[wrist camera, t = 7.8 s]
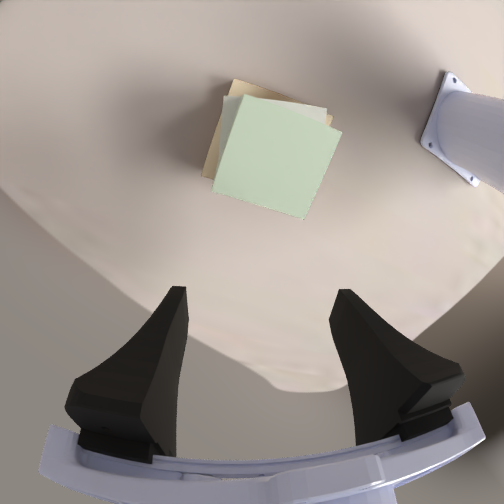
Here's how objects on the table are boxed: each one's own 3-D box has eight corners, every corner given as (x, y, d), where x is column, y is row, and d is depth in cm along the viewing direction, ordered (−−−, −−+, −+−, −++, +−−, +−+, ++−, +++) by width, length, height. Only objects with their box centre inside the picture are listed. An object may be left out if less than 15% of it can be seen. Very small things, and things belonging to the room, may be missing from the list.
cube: (314, 123, 15) (342, 132, 11) (287, 189, 17) (304, 219, 13) (241, 96, 14) (244, 93, 10) (216, 167, 16) (211, 191, 12)
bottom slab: (323, 114, 18) (333, 116, 17) (289, 195, 22) (295, 205, 20) (233, 80, 17) (234, 78, 15) (203, 168, 20) (200, 175, 18)
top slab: (316, 107, 16) (327, 108, 14) (303, 190, 19) (311, 201, 17) (224, 96, 16) (223, 95, 14) (218, 183, 19) (216, 193, 17)
